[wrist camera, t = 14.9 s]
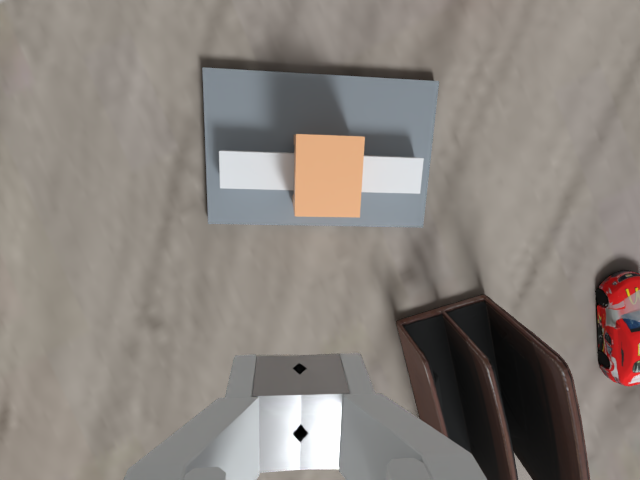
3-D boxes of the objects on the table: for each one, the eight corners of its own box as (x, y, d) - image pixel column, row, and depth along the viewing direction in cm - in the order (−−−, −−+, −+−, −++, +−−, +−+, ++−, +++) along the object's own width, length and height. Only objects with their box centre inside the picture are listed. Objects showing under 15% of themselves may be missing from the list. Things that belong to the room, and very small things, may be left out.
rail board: (434, 82, 34) (450, 76, 31) (419, 225, 37) (432, 233, 34) (204, 69, 32) (196, 61, 29) (210, 221, 35) (202, 229, 32)
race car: (591, 273, 41) (623, 287, 37) (638, 262, 41) (675, 274, 37) (593, 377, 44) (622, 400, 40) (637, 366, 44) (670, 387, 41)
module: (350, 137, 33) (365, 136, 28) (347, 204, 35) (359, 217, 29) (293, 134, 33) (296, 134, 27) (292, 203, 34) (294, 216, 29)
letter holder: (484, 291, 40) (587, 370, 26) (509, 438, 45) (606, 566, 32) (393, 319, 40) (451, 412, 26) (430, 463, 45) (493, 602, 32)
